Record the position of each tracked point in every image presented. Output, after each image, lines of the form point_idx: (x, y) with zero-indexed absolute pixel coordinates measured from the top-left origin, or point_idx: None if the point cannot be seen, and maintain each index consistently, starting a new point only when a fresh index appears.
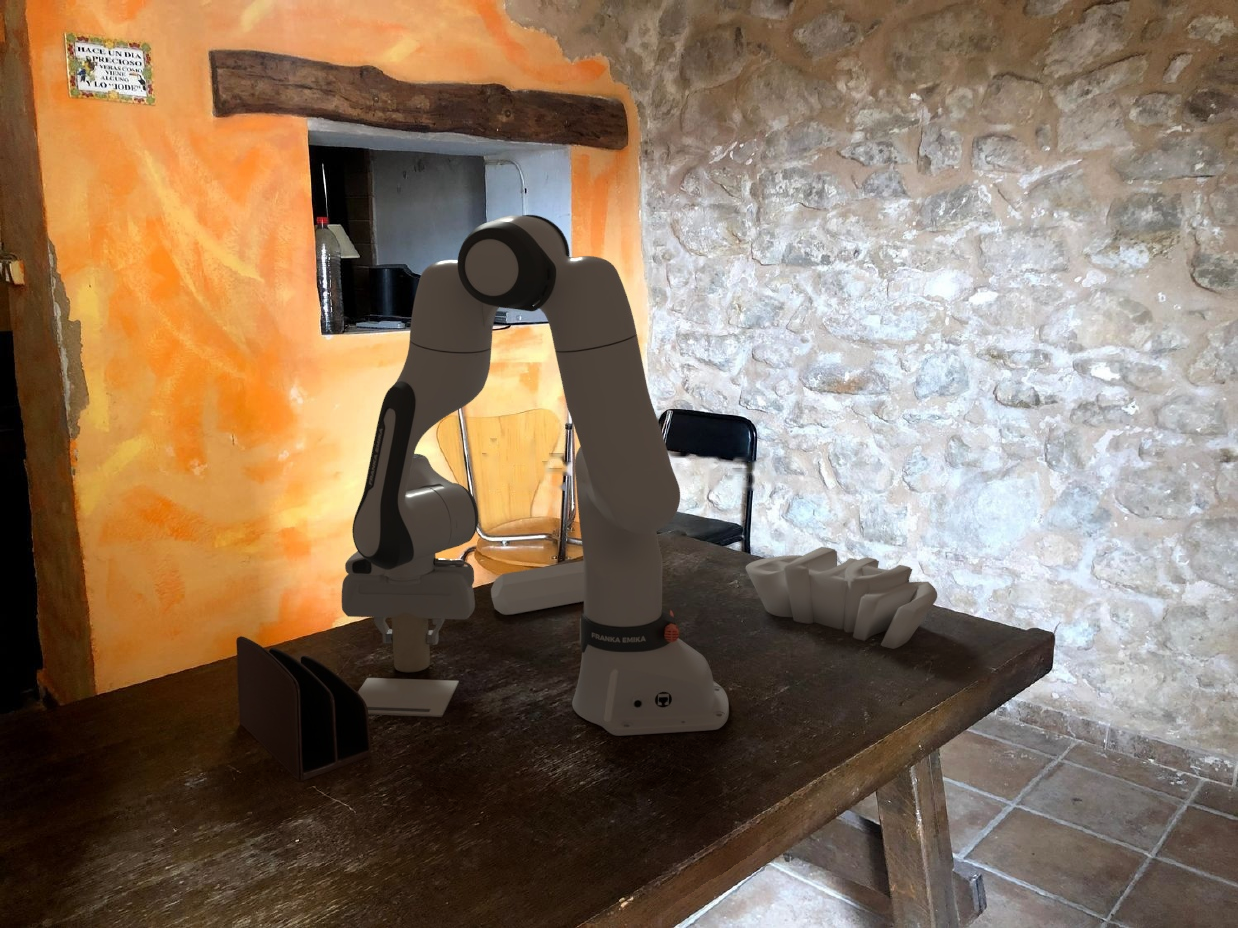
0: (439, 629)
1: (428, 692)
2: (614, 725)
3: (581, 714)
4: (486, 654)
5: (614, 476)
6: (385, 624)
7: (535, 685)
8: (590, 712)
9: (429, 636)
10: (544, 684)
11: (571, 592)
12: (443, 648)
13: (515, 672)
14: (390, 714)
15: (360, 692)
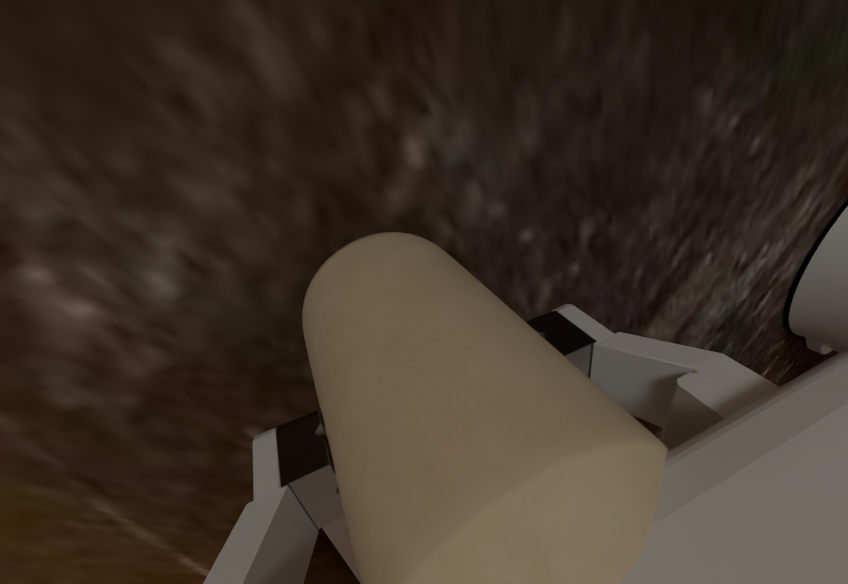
0: (628, 339)
1: None
2: (828, 349)
3: (796, 330)
4: (639, 46)
5: None
6: (273, 558)
7: (749, 240)
8: (817, 339)
9: None
10: (768, 225)
11: None
12: (425, 24)
13: (718, 183)
14: None
15: (332, 523)
